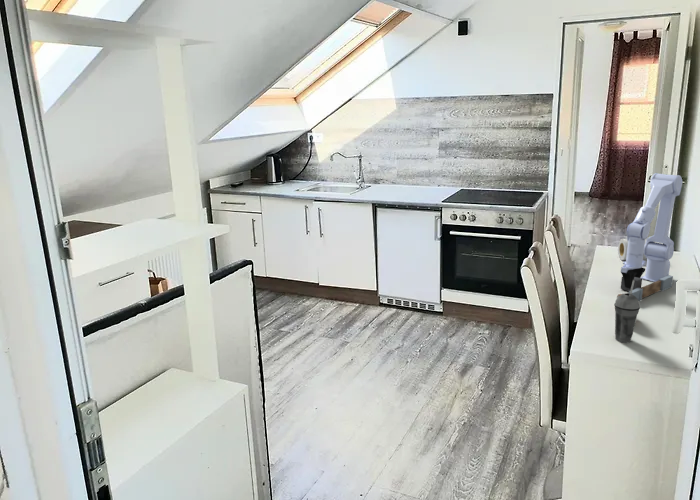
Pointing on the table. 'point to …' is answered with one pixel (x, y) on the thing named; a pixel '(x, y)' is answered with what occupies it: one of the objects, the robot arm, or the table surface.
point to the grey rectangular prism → (636, 284)
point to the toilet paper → (625, 249)
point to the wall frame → (665, 284)
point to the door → (651, 288)
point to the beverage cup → (625, 316)
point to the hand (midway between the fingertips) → (631, 286)
